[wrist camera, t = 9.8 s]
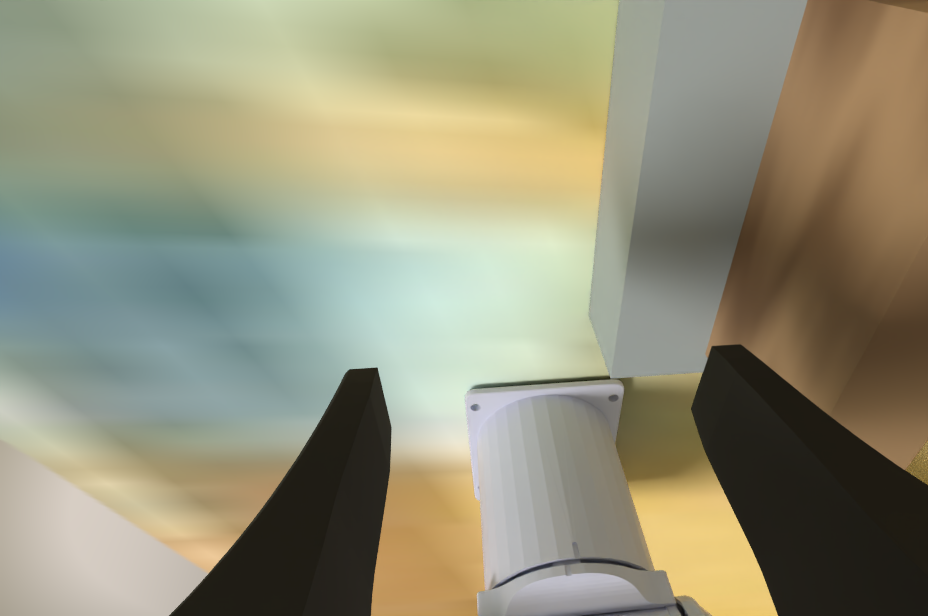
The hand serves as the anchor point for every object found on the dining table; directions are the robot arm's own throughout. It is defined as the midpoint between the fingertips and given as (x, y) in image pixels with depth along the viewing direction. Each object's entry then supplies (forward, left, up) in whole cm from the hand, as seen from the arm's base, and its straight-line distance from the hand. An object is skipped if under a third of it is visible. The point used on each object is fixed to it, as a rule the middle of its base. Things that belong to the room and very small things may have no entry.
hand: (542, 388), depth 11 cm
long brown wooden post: (0, -9, -6) cm, 11 cm away
